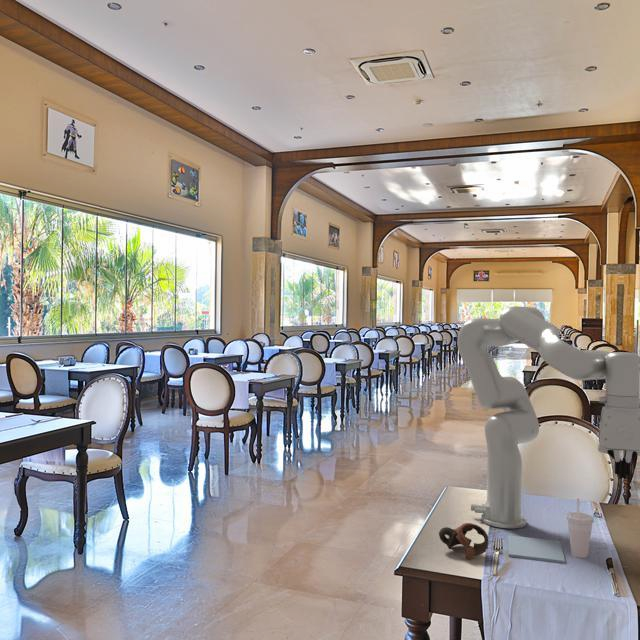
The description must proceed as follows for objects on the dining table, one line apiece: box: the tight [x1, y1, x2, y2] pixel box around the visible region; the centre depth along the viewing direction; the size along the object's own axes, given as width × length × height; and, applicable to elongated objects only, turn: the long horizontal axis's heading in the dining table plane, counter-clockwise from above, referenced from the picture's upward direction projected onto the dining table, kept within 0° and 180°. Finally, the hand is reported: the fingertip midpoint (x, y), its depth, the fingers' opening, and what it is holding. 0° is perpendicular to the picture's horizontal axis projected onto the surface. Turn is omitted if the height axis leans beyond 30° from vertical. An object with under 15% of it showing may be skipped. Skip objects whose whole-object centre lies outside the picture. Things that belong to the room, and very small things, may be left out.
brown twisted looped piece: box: [438, 522, 489, 561], centre depth 151 cm, size 12×10×8 cm
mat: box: [507, 534, 566, 564], centre depth 154 cm, size 13×14×1 cm
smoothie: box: [566, 498, 595, 559], centre depth 151 cm, size 6×6×14 cm
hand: (621, 477), depth 149 cm, fingers closed
